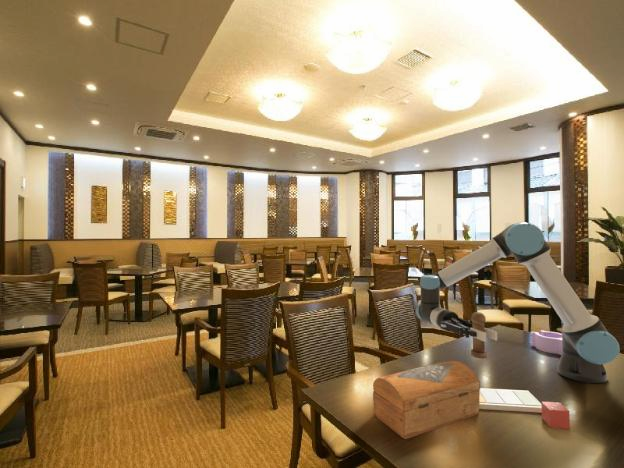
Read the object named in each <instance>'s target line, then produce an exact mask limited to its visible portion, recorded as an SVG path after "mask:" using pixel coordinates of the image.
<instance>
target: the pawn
mask: <svg viewBox="0 0 624 468" xmlns="http://www.w3.org/2000/svg"><path fill="white" fill-rule="evenodd" d="M471 314H472V315H471V316H470V319H471V320H472V323H473V328H474V329H477V330H479V331H482V332H484V325H485V323H486V320H487V319H486V318H487V317H486V315H485V314H484V313H482V312H481V311H475V312H473V313H471ZM485 343H486V342H484V341H481V340H479V339H476V338H474V337H472V348H471V350H470V355H471V357H472V358H475V359H487V357H488V352H487V351H486V350H485V349H486V347H485V346H486V344H485Z"/></svg>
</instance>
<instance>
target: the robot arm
mask: <svg viewBox="0 0 624 468" xmlns="http://www.w3.org/2000/svg"><path fill="white" fill-rule="evenodd" d="M551 250H552V248H551V247H550V245H549V244H548V242H547V241H546V239H545V235H544V233H543V231H542V229H540V228H539V226H537V225H536V224H533V223H531V222H526V221H525V222H524V221H523V222H520V221H519V222H517V223H513V224H510V225H509V226H507V227H506V228H504V229H503V230H502V231H500V232H499V233H498V234H496V235H495V236H494V237H492V238H491V239H490V241H489V242H488V243H486V244H485V245H483V246H481V247H479V248H476V250H474V251H472V252H470V253H469V254H467V255H465V256H464V257H461V258H460V259H458V260H456V261H455V262H453V263H451V264H450V265H448V266H446V267H445V268H443V269H441V270H439V271H437V272H435V273H434V274H431V275H430V274H428V275H427V274H424V275H422V276H420V281H419V282H420V283H419V285H420V303H419V304H418V305H417V306H416V309H415V313H416V316H417V318H418V319H420V320H421V321H422V322H424V323H428V324H430V325H433V326H435V327H437V328H438V329H440V330H444V331H446V332H451V333H454V334H456V335H459V336H461V337H462V336H464V335H465V338H466V339H468V338H470V337H472V338H473V337H474V338H476V339H479V340H481V341H484V342H485V343H486V342H487V338H488V339H490V340H492V341H498V331H496V330H493V329H490V328H488V325H487V324H484V332H482V331H479V330H477V329H474V328H473V323H472V320H471V318H469V319H463V318H462V317H460V316H459V315H458V313H456V312H454V311H452V310H448V309H446V308H443V307H441V301H440V299H441V297H440V295H441V294H440V293H441V291H443V290H444V289H447V288H448V287H451V286H452V285H454V284H455V283H457V282H459V281H461V280H463V279H464V278H466V277H468V276H471V275H472V274H474V273H475V272H478V271H479V270H481V269H483V268H485V267H486V266H489V265H490V264H493V263H494V262H496V261H498V260H499V259H501V258H509V257H510V256H513V257H514V258H515V260H516V261H517V263H518V264H519V265H522V266H525V268H527V270H528V272H529V273H530V275H531V276H532V278H533V279H534V281H535V283H536V284H537V286H538V287H539V289H540V290H541V291H542V293H543V294H544V296H545V298H546V299H547V300H548V302H549V303H550V305H551V307H552V308H553V309H554V311H555V312H556V314H557V316H558V317H559V318H560V320H561V322H560V323H561V334H562V349H563V350H562V351H563V352H562V355H560V358H559V361H558V363H557V373H558V374H560V375H561V376H563V377H565V378H567V379H569V380H574V381H577V382H582V383H587V384H603V383H606V382H607V381H608V373H607V371H606V368H605V366H604V365H606V364H610V363H612V362H613V361H615V360H616V359H617V358H618V356H619V354H620V351H621V350H620V349H621V348H620V344H619V342H618V340H617V339H616V337H615V336H614V335H612V333H610V332H609V331H608V329H606V327H605V325H604V324H603V323H602V320H601V319H600V318H599V317H598V316H596V315H594V314H591V313H590V312H589V311H588V310H587V307H586V306H585V304H584V303H583V302H582V300H581V299H580V297H579V296H578V294H577V293H576V291H574V289H573V288H572V286H571V284H570V283H569V282H568V280H567V279H566V277H565V275H564V274H563V273H562V271H561V269H560V268H559V267H558V266H557V264H556V262H555V261H554V260H553V258H552V256H551V255H550V253H551Z"/></svg>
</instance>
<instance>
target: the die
mask: <svg viewBox="0 0 624 468" xmlns="http://www.w3.org/2000/svg"><path fill="white" fill-rule="evenodd" d="M541 404H542V413H541V419H542V420H543V421H544V422H545V423H546V425H548V427H550V428H554V429H555V428H556V429H567V430H568V429H571V428H570V427H571V426H570V425H571V424H570V410H569V409H568V408H566V406H564V405H563V404H562V403H561V402H556V401H555V402H554V401H541Z"/></svg>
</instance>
